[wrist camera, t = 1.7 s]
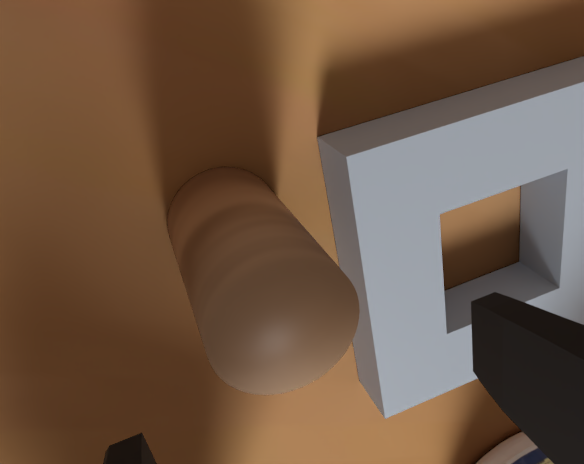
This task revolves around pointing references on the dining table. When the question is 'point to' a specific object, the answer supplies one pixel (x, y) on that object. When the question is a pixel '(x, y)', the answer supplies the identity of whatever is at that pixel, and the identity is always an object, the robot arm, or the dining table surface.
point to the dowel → (259, 284)
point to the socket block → (447, 196)
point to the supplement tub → (515, 452)
